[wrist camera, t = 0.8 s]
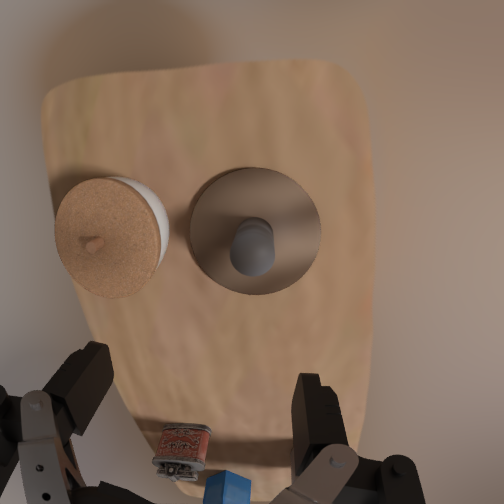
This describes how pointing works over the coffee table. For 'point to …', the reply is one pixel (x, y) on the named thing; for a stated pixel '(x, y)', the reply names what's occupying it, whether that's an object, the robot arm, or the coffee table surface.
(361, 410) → the coffee table surface
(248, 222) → the walnut lid
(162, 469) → the lighter
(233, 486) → the perfume bottle
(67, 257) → the lidded jar
